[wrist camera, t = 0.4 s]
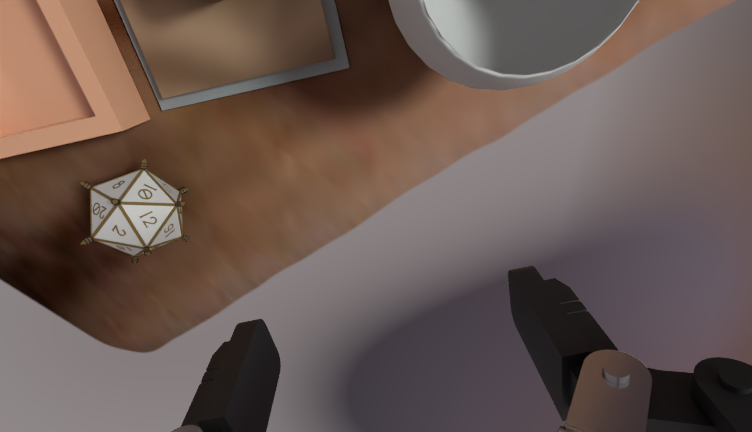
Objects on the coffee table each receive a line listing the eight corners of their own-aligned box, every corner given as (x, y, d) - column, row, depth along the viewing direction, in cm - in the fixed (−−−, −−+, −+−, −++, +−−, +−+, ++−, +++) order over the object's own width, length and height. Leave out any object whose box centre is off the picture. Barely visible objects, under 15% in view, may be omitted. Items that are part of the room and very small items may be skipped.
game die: (164, 194, 43) (64, 245, 36) (151, 129, 37) (27, 176, 30) (222, 241, 40) (126, 305, 34) (218, 179, 34) (100, 242, 28)
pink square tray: (-102, -21, 31) (-173, -29, 27) (66, -65, 30) (19, -80, 26) (7, 151, 37) (-38, 167, 32) (150, 119, 36) (123, 130, 32)
